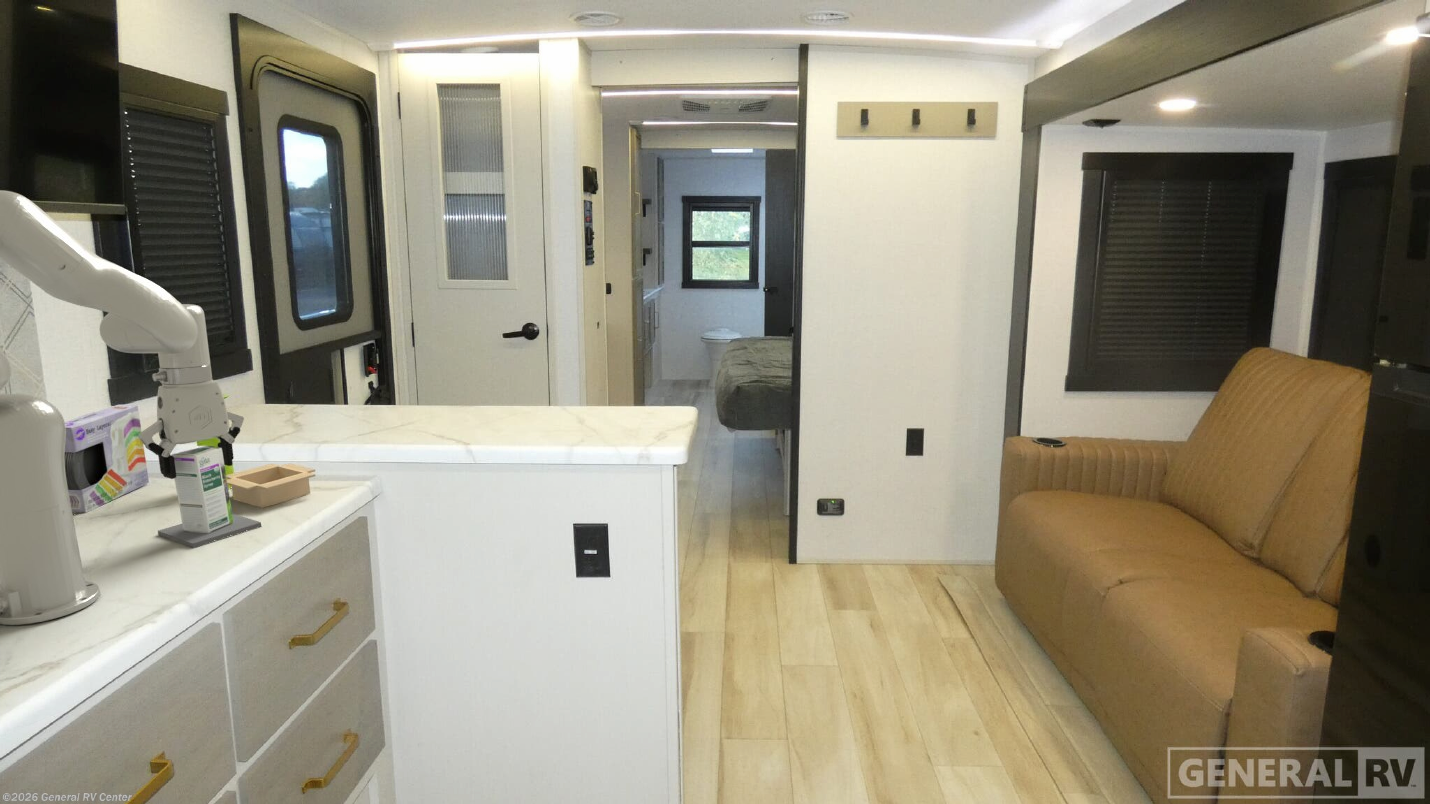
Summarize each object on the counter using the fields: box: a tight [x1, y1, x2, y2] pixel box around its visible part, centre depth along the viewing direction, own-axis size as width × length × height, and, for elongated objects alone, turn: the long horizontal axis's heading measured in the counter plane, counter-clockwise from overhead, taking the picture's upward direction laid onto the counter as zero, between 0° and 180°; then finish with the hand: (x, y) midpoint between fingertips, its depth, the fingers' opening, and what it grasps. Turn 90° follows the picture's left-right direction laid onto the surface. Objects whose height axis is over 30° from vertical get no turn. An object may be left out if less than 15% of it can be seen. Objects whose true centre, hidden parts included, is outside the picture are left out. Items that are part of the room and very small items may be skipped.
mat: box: [157, 512, 262, 549], centre depth 154 cm, size 12×12×1 cm
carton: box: [226, 462, 316, 509], centre depth 173 cm, size 14×15×4 cm
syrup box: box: [170, 445, 233, 533], centre depth 152 cm, size 6×6×14 cm
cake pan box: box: [64, 404, 150, 514], centre depth 171 cm, size 19×5×18 cm, turn 177°
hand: (198, 470), depth 151 cm, fingers open, 9 cm apart
